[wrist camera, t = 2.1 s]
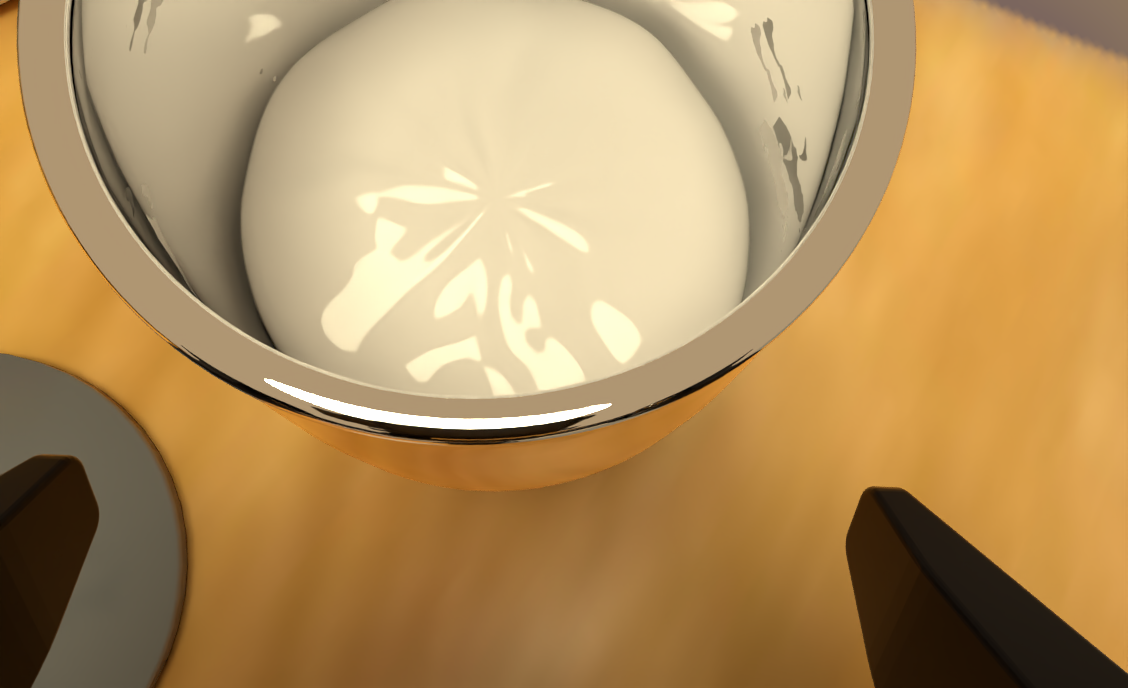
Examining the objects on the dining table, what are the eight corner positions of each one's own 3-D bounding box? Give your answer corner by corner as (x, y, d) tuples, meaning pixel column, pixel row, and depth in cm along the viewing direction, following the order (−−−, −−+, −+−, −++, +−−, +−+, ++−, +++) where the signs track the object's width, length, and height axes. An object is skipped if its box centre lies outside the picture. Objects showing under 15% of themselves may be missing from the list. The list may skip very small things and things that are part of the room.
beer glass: (576, 193, 21) (685, -488, 7) (693, 426, 20) (1130, 219, 6) (335, 296, 21) (-145, -225, 6) (442, 547, 19) (183, 677, 5)
